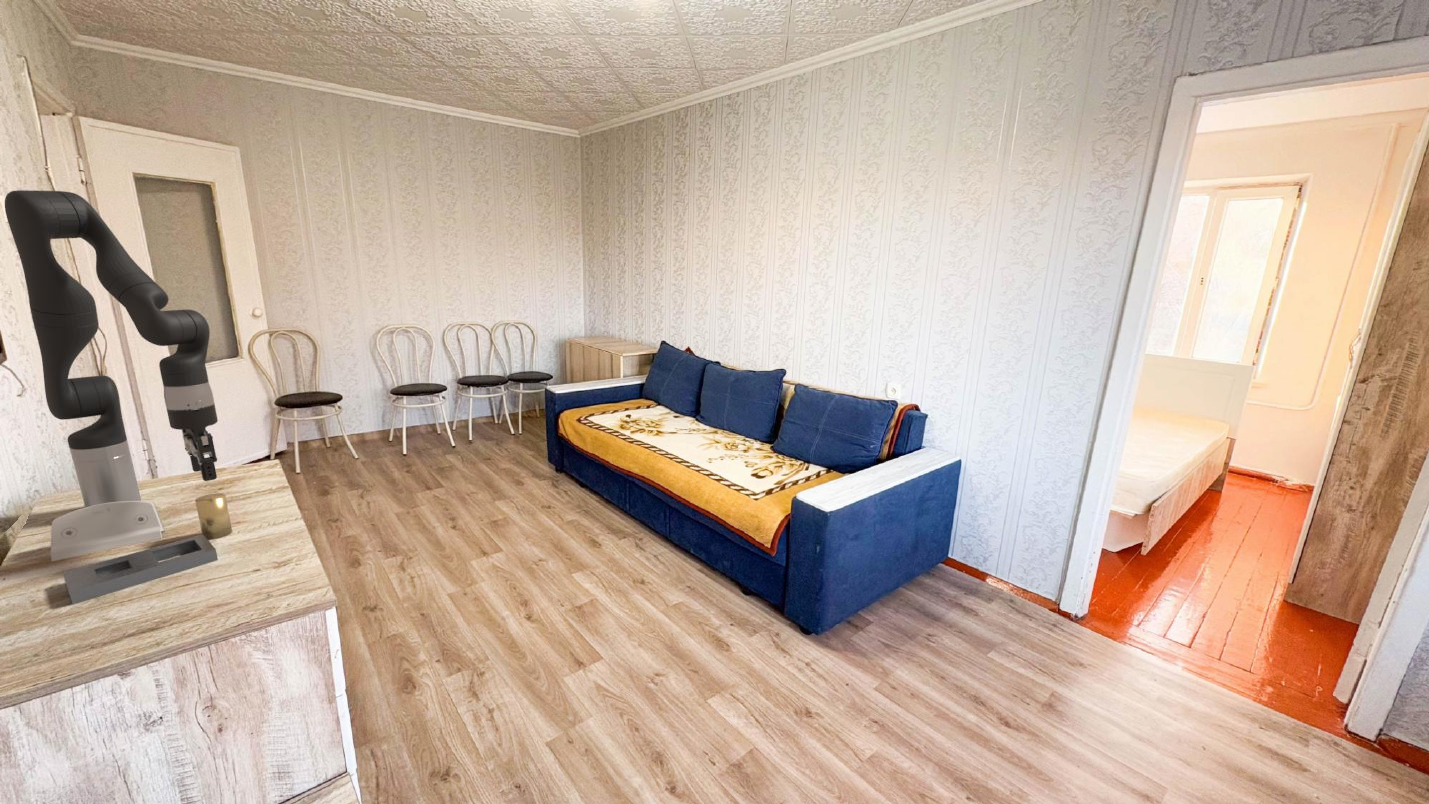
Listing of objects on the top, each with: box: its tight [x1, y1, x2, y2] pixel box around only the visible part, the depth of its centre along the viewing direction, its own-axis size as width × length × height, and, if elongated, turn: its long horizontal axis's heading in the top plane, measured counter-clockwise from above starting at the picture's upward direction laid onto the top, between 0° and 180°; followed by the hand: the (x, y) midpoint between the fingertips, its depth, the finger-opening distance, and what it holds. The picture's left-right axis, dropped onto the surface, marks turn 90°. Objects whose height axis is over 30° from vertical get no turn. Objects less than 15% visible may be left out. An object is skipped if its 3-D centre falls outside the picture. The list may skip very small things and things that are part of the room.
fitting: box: [194, 492, 233, 541], centre depth 123 cm, size 5×5×9 cm
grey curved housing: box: [50, 500, 165, 562], centre depth 118 cm, size 17×5×10 cm, turn 132°
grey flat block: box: [62, 533, 219, 605], centre depth 109 cm, size 10×20×2 cm, turn 144°
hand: (205, 475), depth 120 cm, fingers open, 8 cm apart
